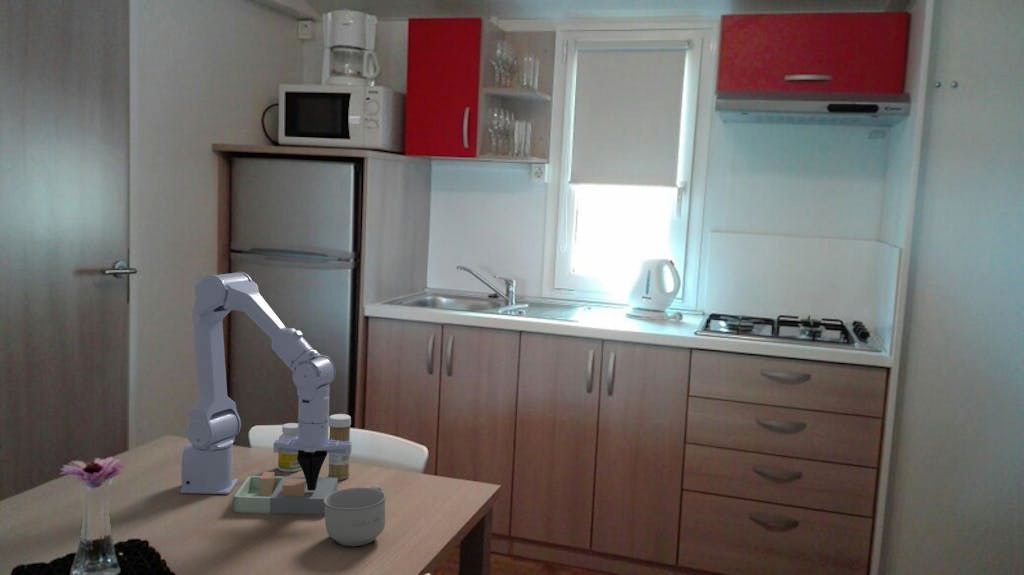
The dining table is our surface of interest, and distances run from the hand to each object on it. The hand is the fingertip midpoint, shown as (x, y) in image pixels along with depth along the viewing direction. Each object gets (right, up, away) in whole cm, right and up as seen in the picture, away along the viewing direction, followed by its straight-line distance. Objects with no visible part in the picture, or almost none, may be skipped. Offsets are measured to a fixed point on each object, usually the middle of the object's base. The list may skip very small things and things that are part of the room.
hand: (312, 488), depth 164 cm
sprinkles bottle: (+1, -2, +18) cm, 18 cm away
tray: (-11, -3, +2) cm, 12 cm away
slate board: (-2, -3, +3) cm, 5 cm away
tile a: (-9, 0, +5) cm, 10 cm away
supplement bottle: (-10, -1, +22) cm, 24 cm away
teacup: (+11, -6, -12) cm, 18 cm away
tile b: (-3, -1, 0) cm, 3 cm away
